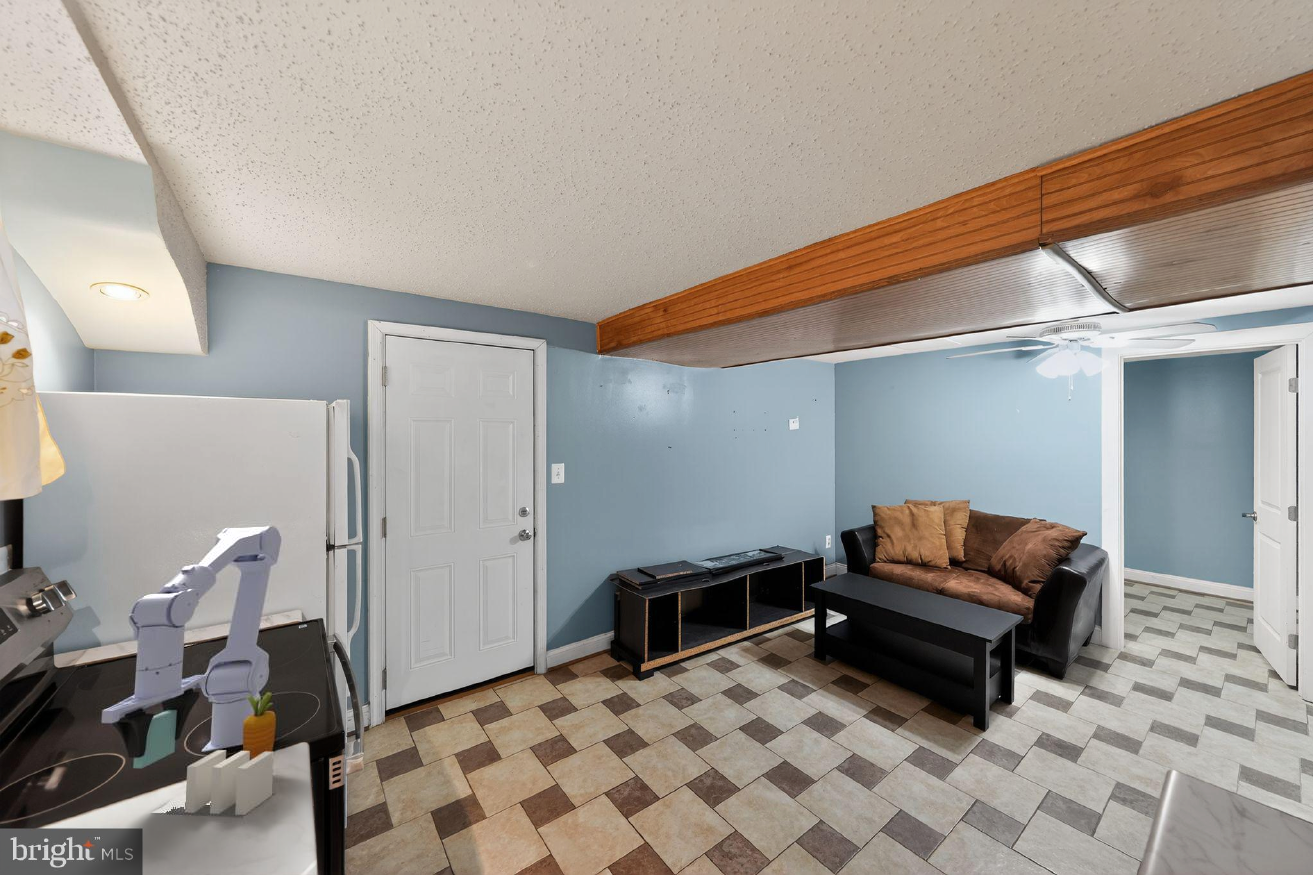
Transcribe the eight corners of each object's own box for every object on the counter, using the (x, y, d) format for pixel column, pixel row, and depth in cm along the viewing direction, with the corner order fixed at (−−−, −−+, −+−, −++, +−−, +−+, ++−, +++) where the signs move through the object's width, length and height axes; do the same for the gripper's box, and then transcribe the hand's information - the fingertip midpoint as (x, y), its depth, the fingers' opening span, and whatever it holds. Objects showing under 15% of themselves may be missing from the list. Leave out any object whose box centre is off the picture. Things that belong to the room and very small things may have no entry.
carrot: (233, 784, 88) (237, 695, 90) (266, 769, 93) (269, 685, 94) (247, 791, 86) (251, 700, 87) (280, 776, 90) (283, 690, 92)
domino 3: (235, 814, 79) (237, 768, 80) (263, 794, 84) (265, 751, 85) (244, 814, 79) (246, 768, 80) (271, 795, 84) (273, 751, 85)
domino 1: (184, 812, 80) (187, 766, 81) (215, 793, 85) (217, 749, 86) (193, 812, 80) (196, 766, 81) (223, 793, 85) (226, 750, 85)
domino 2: (209, 813, 80) (212, 767, 80) (239, 794, 84) (241, 750, 85) (218, 813, 79) (221, 767, 80) (247, 794, 84) (249, 750, 85)
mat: (150, 815, 80) (150, 812, 80) (188, 792, 86) (188, 790, 86) (242, 819, 78) (242, 817, 78) (275, 796, 84) (275, 793, 84)
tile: (133, 767, 82) (136, 723, 82) (166, 751, 87) (168, 709, 87) (141, 768, 82) (144, 723, 82) (174, 751, 87) (176, 709, 87)
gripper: (131, 681, 78) (125, 773, 77) (222, 650, 92) (218, 727, 91) (92, 681, 79) (86, 771, 77) (188, 650, 93) (183, 726, 92)
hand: (155, 747), depth 84 cm, fingers closed on tile, 5 cm apart
